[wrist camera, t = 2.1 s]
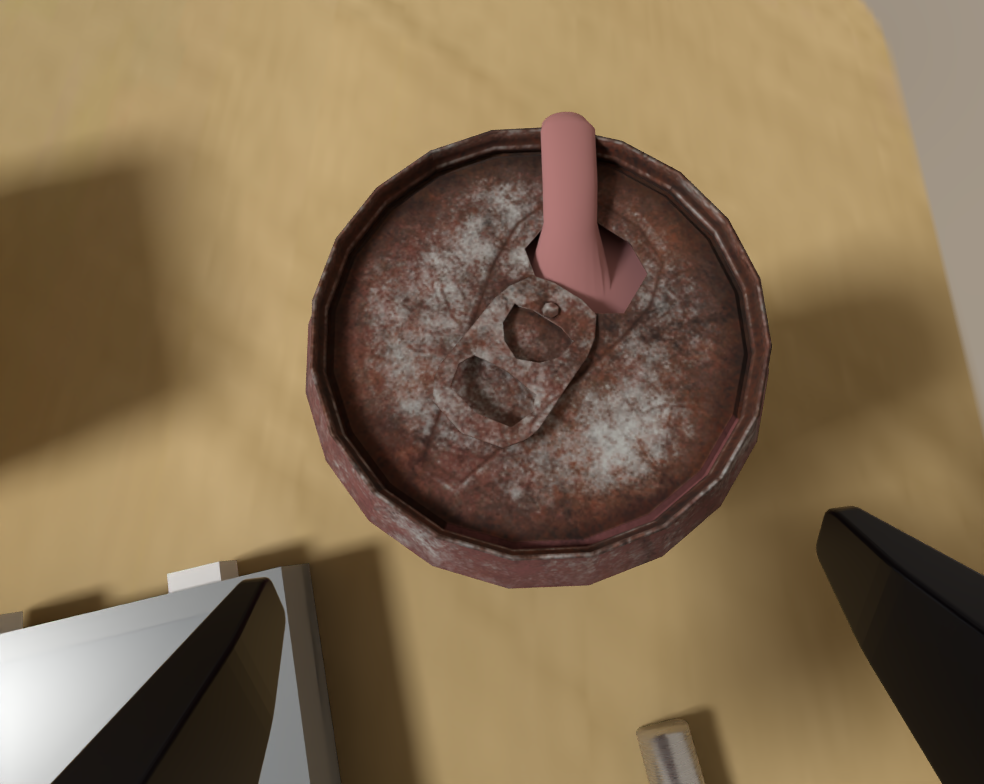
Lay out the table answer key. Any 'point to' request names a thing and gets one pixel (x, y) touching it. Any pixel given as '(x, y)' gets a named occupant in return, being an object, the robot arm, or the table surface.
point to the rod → (669, 753)
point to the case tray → (136, 657)
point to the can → (538, 356)
